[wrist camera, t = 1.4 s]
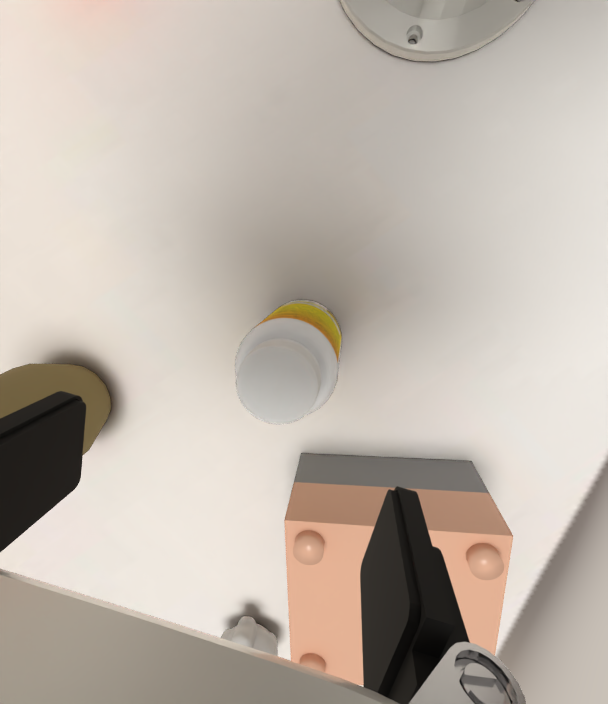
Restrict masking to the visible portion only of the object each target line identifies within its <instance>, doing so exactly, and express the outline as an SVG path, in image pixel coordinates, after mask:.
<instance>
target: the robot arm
mask: <svg viewBox="0 0 608 704" xmlns="http://www.w3.org/2000/svg"><path fill="white" fill-rule="evenodd" d="M534 1H535V0H518V2H517V1H515V0H340V2H341V4H342V6H343V8H344V10H345V13H346V14H347V15H348V17H349V18H350V20H351V21H352V22H353V24H354V25H355V26H356V28H357V29H358V30H359V31H360V32H361V33H362V34H363V35H364V36H365V37H366V38H367V39H369V40H370V41H371V42H372V43H373V44H374V45H376V46H378V47H379V48H381V49H383V50H385V51H387V52H388V53H390V54H392V55H395V56H398V57H402V58H406V59H409V60H413V61H433V62H434V61H440V60H446V59H452V58H457V57H459V56H462V55H465V54H467V53H470V52H472V51H475V50H478V49H479V48H481V47H483V46H484V45H486V44H488V43H489V42H491V41H492V40H494V39H496V38H497V37H499V36H500V35H501V34H502V33H504V32H505V31H506V30H507V29H508V28H509V27H511V26H512V25H513V24H514V23H515V22H516V21H517V20H519V19H520V17H521V16H522V15H523V14H524V13H525V11H526V10H527V9H528V8H529V7H530V6H531V4H532V3H533V2H534ZM410 39H415V40H416V42H417V44H411V43H409V42H408V41H409V40H410ZM85 418H86V404H85V403H84V402H83V400H82V398H81V397H80V396H78V395H74V394H71V393H67V392H64V391H59V392H56V393H54V394H52V395H50V396H47V397H45V398H43V399H41V400H39V401H37V402H35V403H32V404H30V405H28V406H26V407H24V408H22V409H20V410H17V411H15V412H13V413H11V414H9V415H7V416H5V417H2V418H0V552H1V551H2V550H4V549H5V548H6V547H7V546H8V545H9V544H11V543H12V542H13V541H14V540H15V539H16V538H18V537H19V536H20V535H21V534H22V533H24V532H25V531H26V530H27V529H28V528H29V527H31V526H32V525H33V524H34V523H35V522H36V521H38V520H39V519H40V518H41V517H42V516H44V515H45V514H46V513H47V512H48V511H49V510H51V509H52V508H53V507H54V506H55V505H57V504H58V503H59V502H60V501H61V500H62V499H64V498H65V497H66V496H67V495H68V494H69V493H71V492H72V491H73V490H74V489H75V488H76V487H77V485H78V483H79V481H80V478H81V467H82V455H83V442H84V430H85ZM360 588H361V619H362V651H363V683H364V687H362V686H359V685H357V684H354V683H352V682H349V681H347V680H344V679H342V678H339V677H336V676H333V675H330V674H327V673H325V672H322V671H319V670H316V669H313V668H310V667H307V666H304V665H301V664H298V663H295V662H292V661H289V660H287V659H284V658H281V657H278V656H275V655H272V654H269V653H266V652H263V651H260V650H256V649H253V648H250V647H247V646H244V645H241V644H238V643H235V642H232V641H228V640H225V639H222V638H219V637H216V636H213V635H210V634H207V633H204V632H200V631H197V630H194V629H191V628H188V627H185V626H182V625H179V624H176V623H172V622H169V621H166V620H163V619H160V618H157V617H153V616H150V615H147V614H144V613H141V612H138V611H134V610H131V609H128V608H125V607H122V606H119V605H115V604H112V603H109V602H106V601H103V600H100V599H96V598H93V597H90V596H87V595H84V594H80V593H77V592H74V591H71V590H68V589H64V588H61V587H58V586H55V585H52V584H48V583H45V582H42V581H39V580H35V579H32V578H29V577H26V576H22V575H19V574H16V573H13V572H9V571H6V570H3V569H0V704H526V701H525V697H524V695H523V693H522V690H521V688H520V686H519V684H518V682H517V681H516V679H515V678H514V676H513V675H512V673H511V672H510V671H509V669H508V668H507V667H506V666H505V665H504V664H503V663H502V662H501V661H500V660H499V659H498V658H497V657H496V656H494V655H493V654H492V653H491V652H489V651H488V650H486V649H484V648H482V647H481V646H479V645H477V644H473V643H470V641H469V638H468V635H467V632H466V628H465V625H464V622H463V619H462V616H461V612H460V609H459V606H458V603H457V599H456V596H455V593H454V590H453V586H452V583H451V580H450V577H449V574H448V570H447V567H446V564H445V561H444V557H443V554H442V552H441V550H440V549H439V548H437V547H434V546H432V542H431V539H430V535H429V532H428V528H427V525H426V521H425V518H424V514H423V511H422V507H421V504H420V500H419V497H418V494H417V492H416V491H412V490H409V489H405V488H402V487H398V486H397V487H396V488H395V489H394V490H390V489H389V490H388V491H387V494H386V496H385V499H384V502H383V505H382V507H381V510H380V513H379V516H378V519H377V521H376V524H375V527H374V530H373V533H372V535H371V538H370V541H369V544H368V546H367V549H366V552H365V555H364V558H363V561H362V564H361V570H360Z"/></svg>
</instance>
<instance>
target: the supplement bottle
mask: <svg viewBox="0 0 608 704" xmlns="http://www.w3.org/2000/svg"><path fill="white" fill-rule="evenodd" d="M341 344H342V335H341V329H340V326H339V323H338V321H337V319H336V318H335V316H334V315H333V314H332V312H331V311H330V310H329V309H327V308H326V307H325V306H323V305H321V304H319V303H317V302H314V301H310V300H295V301H291V302H288V303H286V304H284V305H282V306H281V307H279V308H278V309H276V310H275V311H274V312H273V313H272V314H270V315H269V316H268V317H267V318H265V319H264V320H263V321H262V322H261V323H260V324H258V325H257V326H256V327H254V328H253V329H252V330H251V331H250V332H249V333H248V334H247V335H246V337H245V338H244V339H243V341H242V342H241V344H240V346H239V349H238V351H237V355H236V360H235V373H236V389H237V394H238V396H239V399H240V401H241V403H242V404H243V406H244V407H245V408H246V410H247V411H248V412H249V413H251V414H252V415H253V416H254V417H256V418H258V419H259V420H262V421H264V422H267V423H271V424H288V423H292V422H295V421H297V420H299V419H301V418H302V417H304V416H305V415H308V414H310V413H312V412H314V411H316V410H317V409H319V408H320V407H321V406H322V405H323V404H324V403H325V402H326V401H327V400H328V399H329V397H330V396H331V394H332V392H333V390H334V388H335V385H336V382H337V377H338V369H339V361H340V353H341Z"/></svg>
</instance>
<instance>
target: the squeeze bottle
mask: <svg viewBox="0 0 608 704" xmlns="http://www.w3.org/2000/svg"><path fill="white" fill-rule="evenodd" d="M59 391H64V392H67V393H71V394H74V395H78V396H80V397H81V398H82V400H83V402H84V403H85V404H86V418H85V430H84V442H83V454H85V453H86V452H87V451H89V449H90V447H91V446H92V444H93V442H94V441H95V439H96V437H97V436H98V434H99V432H100V430H101V429H102V427H103V425H104V424H105V422H106V420H107V418H108V415H109V413H110V411H111V398H110V395H109V393H108V390H107V388H106V385H105V384H104V383H103V382H102V380H101V379H100V378H99V377H98V376H97V375H96V374H95V373H94V372H92V371H90V370H88V369H87V368H85V367H83V366H78V365H72V364H28V365H24V366H20V367H17V368H13V369H11V370H9V371H7V372H5V373H2V374H0V418H2V417H5V416H7V415H9V414H11V413H13V412H15V411H17V410H20V409H22V408H24V407H26V406H28V405H30V404H32V403H35V402H37V401H39V400H41V399H43V398H45V397H47V396H50V395H52V394H54V393H56V392H59Z"/></svg>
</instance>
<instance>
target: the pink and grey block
mask: <svg viewBox="0 0 608 704" xmlns="http://www.w3.org/2000/svg"><path fill="white" fill-rule="evenodd" d="M397 486H398V487H402V488H405V489H409V490H412V491H416V492H417V494H418V497H419V500H420V504H421V507H422V511H423V514H424V518H425V521H426V525H427V528H428V532H429V535H430V539H431V542H432V546H434V547H437V548H439V549H440V550H441V552H442V554H443V557H444V561H445V564H446V567H447V570H448V574H449V577H450V580H451V583H452V586H453V590H454V593H455V596H456V599H457V603H458V606H459V609H460V612H461V616H462V619H463V622H464V625H465V628H466V632H467V635H468V638H469V641H470V643H473V644H477V645H479V646H481V647H482V648H484V649H486V650H488V651H489V652H491V653H492V654H493V655H494V656H495V651H496V645H497V638H498V632H499V625H500V619H501V612H502V606H503V599H504V593H505V586H506V580H507V573H508V567H509V560H510V554H511V547H512V541H513V535H512V533H511V531H510V529H509V528H508V526H507V524H506V522H505V520H504V519H503V517H502V515H501V513H500V512H499V510H498V508H497V506H496V504H495V503H494V501H493V499H492V497H491V495H490V494H489V492H488V490H487V488H486V486H485V485H484V483H483V481H482V479H481V478H480V476H479V474H478V472H477V470H476V469H475V467H474V465H473V463H472V461H458V460H436V459H414V458H392V457H370V456H348V455H326V454H305V453H301V456H300V460H299V464H298V468H297V472H296V476H295V480H294V484H293V488H292V492H291V496H290V500H289V504H288V508H287V512H286V516H285V542H286V563H287V585H288V607H289V628H290V650H291V661H292V662H295V663H298V664H301V665H304V666H307V667H310V668H313V669H316V670H319V671H322V672H325V673H327V674H330V675H333V676H336V677H339V678H342V679H344V680H347V681H349V682H352V683H354V684H357V685H364V683H363V651H362V619H361V588H360V570H361V564H362V561H363V558H364V555H365V552H366V549H367V546H368V544H369V541H370V538H371V535H372V533H373V530H374V527H375V524H376V521H377V519H378V516H379V513H380V510H381V507H382V505H383V502H384V499H385V496H386V494H387V491H388V490H389V489H390V490H394V489H395V488H396V487H397Z"/></svg>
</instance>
